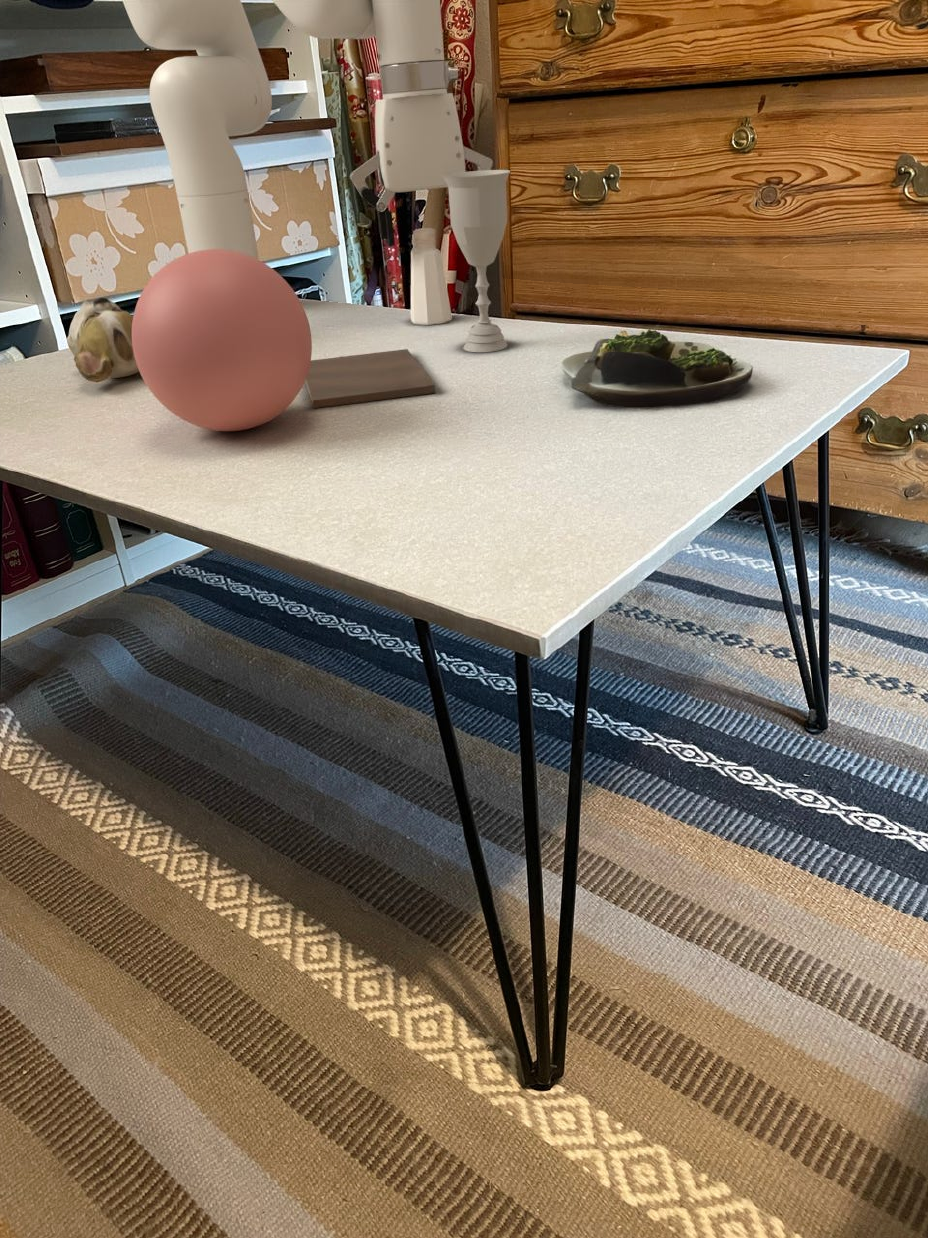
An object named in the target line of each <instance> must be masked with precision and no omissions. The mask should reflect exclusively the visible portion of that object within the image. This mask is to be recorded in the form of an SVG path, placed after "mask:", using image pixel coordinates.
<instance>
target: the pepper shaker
mask: <svg viewBox="0 0 928 1238" xmlns="http://www.w3.org/2000/svg"><path fill="white" fill-rule="evenodd" d="M436 232H437V231H436V229H435V228H432V227H423V228H416V229H414V230H413V231H412V235H413V238H414V239H413V241H414V249H415V250H412V251H411V253H410V256H411V257H410V321H411V322H412V324H414V325H417V326H418V325H419V326H433V325H439V324H440V325H441V324H445V323H447V322H450V321H451V320H453V316H452V310H451V304H450V299H449V298H450V297H449V292H448V287H447V281H446V275H445V268H444V262H443V257H442V252H441V250H439V249H438V248H436V247H437V244H436Z"/></svg>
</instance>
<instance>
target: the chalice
mask: <svg viewBox="0 0 928 1238" xmlns="http://www.w3.org/2000/svg"><path fill="white" fill-rule="evenodd" d="M510 174H511V170H509V169H491V170H483V171H478V170H472V171H471V170H470V171H465V172H460V173H453V174H447V175H444V176H443V177H444V179H445V181H446V183H447V185H448V187H447V188H448V200H449V203H448V204H449V217H450V227H451V230H452V232H453V234H454V237H455V240H456V243H457V245H458V247H459V248H460V251H461V253H462V254H463V256H464V258H465V259H466V262H467V264H468V265H470V266H472V267H475V269H476V273H477V278H476V283H475V285H474V287H475V288H476V290H477V294H478V296H477V301H476V302H475V305H476V306H477V308H478V312H479V317H478V321H476V322H477V323H476V324H475V325H472V326H470V329H469V330H468V335H467V337H466V339H465V344H464V345H463V350H464V351H466V352H470V353H492V352H497V351H501V350H504V349H507V348H508V343H507V342H506V341H505V336H504V334H503V333H502V329H501V328H500V327H499V326H498V325H497V324H495V323H492V320H490V317H489V313H488V312H489V307H490V305H491V304H492V302H491V300H490V299H489V297H488V289H489V287H490V283H489V282H488V278H487V268H488V266H490V265H491V264H493V263H494V262H495V260H496V257H497V255H498V252H499V249H500V247H501V244H502V242H503V240H504V236H505V232H506V227H507V224H508V204H507V203H508V201H507V198H508V197H507V181H508V178H509V176H510Z"/></svg>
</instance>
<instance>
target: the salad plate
mask: <svg viewBox="0 0 928 1238" xmlns="http://www.w3.org/2000/svg"><path fill="white" fill-rule="evenodd" d="M560 368H561V370H562V372H563V373H564V375H565V376H566V377H568V379H569V380H571V382H570V388H572V389H573V390H575V391H578V392H580V393H582V394H584V395H586V396H587V397H588V398H590V399H591V400H593V401H594V402H596V403H598V404H601V405H605V406H609V407H617V408H628V409H649V408H650V409H651V408H660V407H670V406H671V407H672V406H681V405H682V406H683V405H691V404H698V403H704V402H710V401H716V400H719V399H724V398H726V397H731V396H733V395H735V394H737V393H738V392H739V391H740V390H741V389H742V388H743V387H744V386H745V385H746V384H747V383H748V382H749V381H750V380H751V378H752V376H753V365H751V364H750V363H749V362H747V361H744V360H742V359H739V358H737V357H735V356H732V355H731V354H728V353H726V352H725V351H724V350H721V349H719V348H717V347H715V346H713V345H711V344H708V343H703V342H697V341H695V342H694V341H671V340H669V339H668V337H667V336H666V335H664V334H662V333H661V332H660V331H657V330H656V329H655V330H652V329H650V328H647V330H646V332H645V331H640V333H637V334H628V332H627V330H621V331H620V332H619V334H617V333H616V334H615V335H614V337H613V338H602V339H599V340H597V341H596V343H595V345H594V347H593V349H592V350H591V351H584V352H580V353H576V354H571V355H569V356H567V357H565V358H564V359H562V360H561V361H560Z"/></svg>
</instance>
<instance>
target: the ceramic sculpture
mask: <svg viewBox="0 0 928 1238" xmlns="http://www.w3.org/2000/svg"><path fill="white" fill-rule="evenodd" d="M133 316H134V315H132V314H131V313H130V312H128V311H127V310H124V309H121V307H119V306H118V305H117V304H116V303H115V302H113V301H112V300H109V298H107V297H99V298H97V299H95V300H93V301H91V302H90V301H88V300H84V301H83V302H82V304H81V307H80V308H79V309H78V310H77V312H75V314H74V315H73V318H72V320H71V321H70V322H71V323H70V325H69V330H68V335H67V338H66V342H67V346H68V348H69V350H70V352H71V353H72V355H73V356H74V357H73V361H74V362H75V367H76V369H77V370H78V372H79V374H81V376H82V377H83V378H84V379H85V380H87V381H90V382H93V383H101V382H104V381H105V380H107V379H108V378H112V379H118V378H119V379H120V378H125V377H129V376H133V375H135V374H137V373H140V372H139V369H138V367H137V364H136V360H135V357H134V352H133V346H132V322H133Z"/></svg>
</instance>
